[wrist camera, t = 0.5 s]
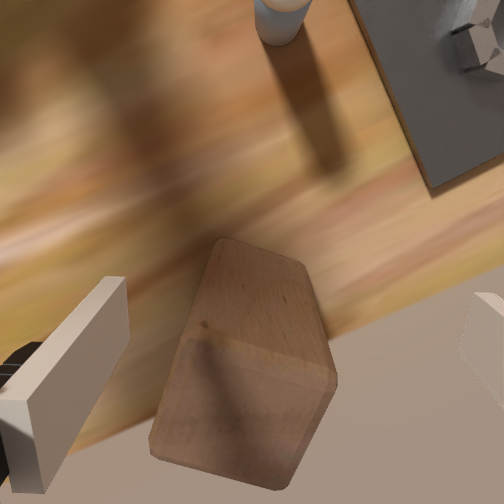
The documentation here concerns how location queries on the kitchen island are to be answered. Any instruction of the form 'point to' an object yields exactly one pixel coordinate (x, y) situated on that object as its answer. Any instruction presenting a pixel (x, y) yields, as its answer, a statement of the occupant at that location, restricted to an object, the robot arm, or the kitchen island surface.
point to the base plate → (441, 77)
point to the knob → (279, 19)
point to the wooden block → (246, 371)
